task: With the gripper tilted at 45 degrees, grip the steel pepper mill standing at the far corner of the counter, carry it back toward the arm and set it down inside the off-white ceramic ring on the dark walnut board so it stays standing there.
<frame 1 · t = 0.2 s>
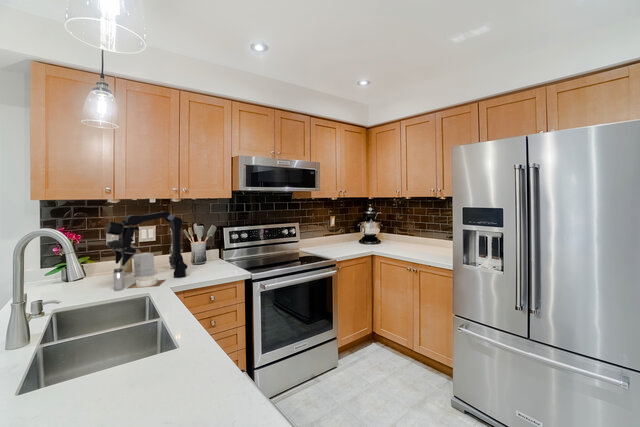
hand: (119, 264, 162), 15 cm above the counter, tool tilted 15°, fingers open, 9 cm apart
ceramic ring: (146, 283, 174), resting on walnut board
skincare box: (126, 274, 202), on the counter
supplement box: (144, 276, 198), on the counter
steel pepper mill: (119, 291, 163), on the counter
walnut board: (147, 285, 174), on the counter
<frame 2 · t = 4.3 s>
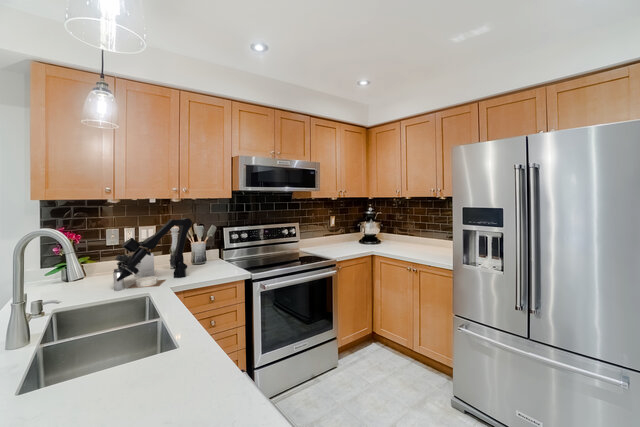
hand: (115, 280, 162), 7 cm above the counter, tool tilted 45°, fingers closed on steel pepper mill, 5 cm apart
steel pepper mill: (119, 291, 163), on the counter, touching gripper
everything else where it was.
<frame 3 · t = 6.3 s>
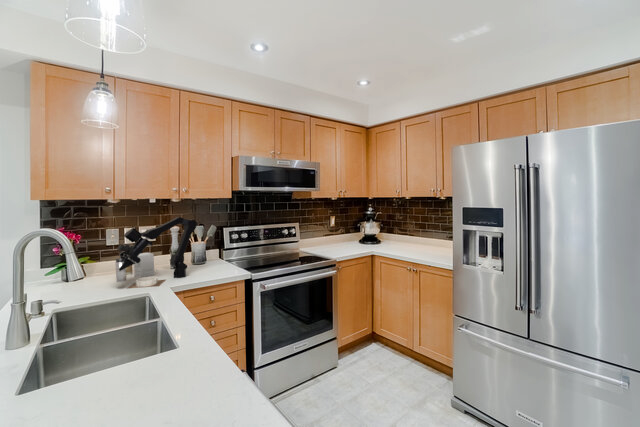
hand: (118, 269, 163), 12 cm above the counter, tool tilted 45°, fingers closed on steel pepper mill, 5 cm apart
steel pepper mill: (121, 280, 164), point 6 cm above the counter, touching gripper
everything else where it was.
when the fingers open (9 cm above the counter, at t = 8.6 s): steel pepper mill drops 1 cm, resting on walnut board.
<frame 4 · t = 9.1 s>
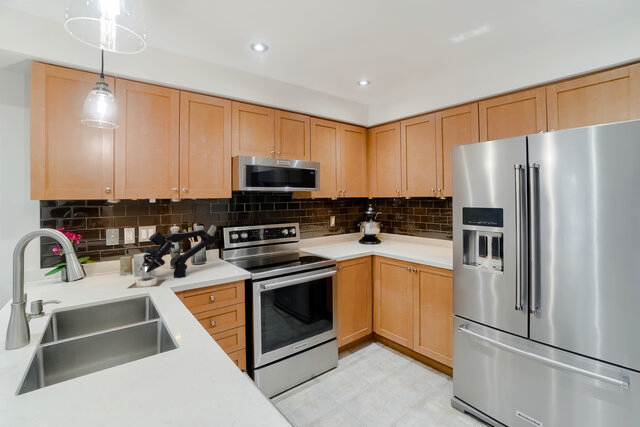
hand: (143, 271, 173), 9 cm above the counter, tool tilted 45°, fingers open, 9 cm apart
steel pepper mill: (146, 283, 174), point 1 cm above the counter, touching walnut board
everything else where it was.
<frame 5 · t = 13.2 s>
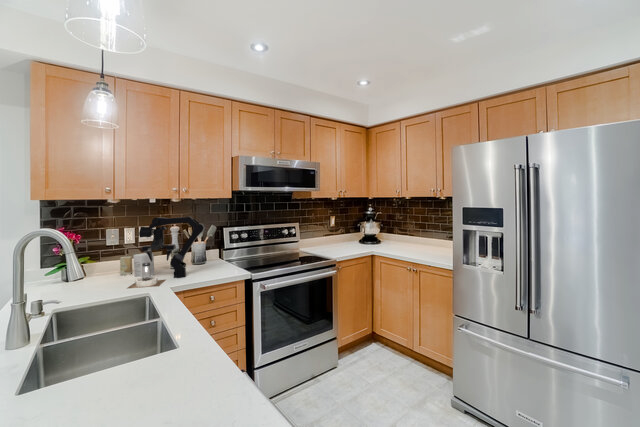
hand: (159, 261, 186), 12 cm above the counter, tool pointing down, fingers open, 9 cm apart
nothing on the counter moved.
at the end: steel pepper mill 0.1 cm off-centre on the ceramic ring, point 0.0 cm above the ceramic ring's base; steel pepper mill tilted 0°; the gripper is holding nothing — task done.
